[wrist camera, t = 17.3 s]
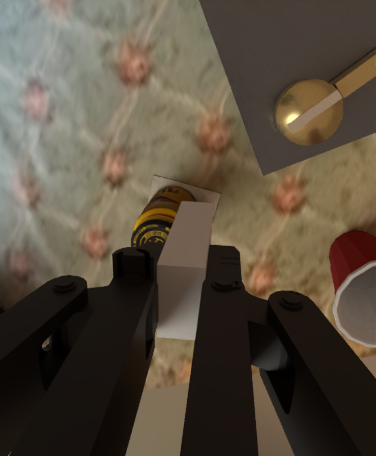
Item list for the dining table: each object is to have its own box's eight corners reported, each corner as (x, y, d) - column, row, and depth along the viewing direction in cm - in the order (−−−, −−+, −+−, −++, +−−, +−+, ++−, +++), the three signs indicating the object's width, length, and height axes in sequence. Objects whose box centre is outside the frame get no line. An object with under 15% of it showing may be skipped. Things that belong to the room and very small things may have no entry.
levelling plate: (187, -31, 36) (185, -38, 34) (475, -190, 30) (491, -208, 28) (261, 171, 42) (263, 175, 41) (509, 75, 36) (524, 75, 35)
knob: (293, 151, 39) (300, 159, 35) (262, 105, 38) (266, 107, 34) (398, 79, 35) (418, 78, 32) (368, 25, 34) (385, 17, 30)
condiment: (153, 174, 44) (129, 205, 33) (220, 193, 44) (218, 229, 33) (142, 228, 47) (115, 272, 36) (205, 245, 47) (198, 295, 36)
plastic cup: (310, 294, 48) (335, 357, 37) (305, 218, 44) (332, 263, 33) (397, 286, 46) (452, 350, 35) (400, 206, 42) (462, 250, 31)
